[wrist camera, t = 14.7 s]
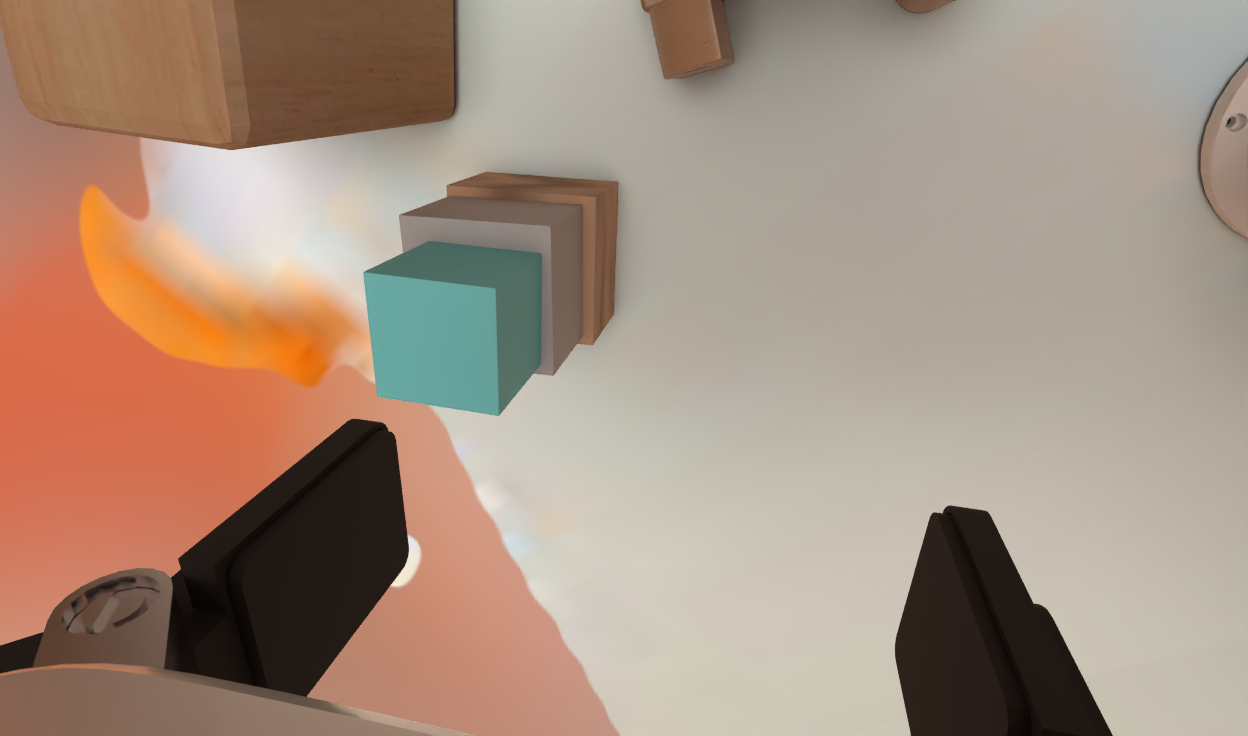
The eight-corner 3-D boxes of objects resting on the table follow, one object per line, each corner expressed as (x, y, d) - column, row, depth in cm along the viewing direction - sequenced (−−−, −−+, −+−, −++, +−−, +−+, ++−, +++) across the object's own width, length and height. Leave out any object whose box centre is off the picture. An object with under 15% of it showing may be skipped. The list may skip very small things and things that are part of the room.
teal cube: (541, 253, 33) (495, 288, 27) (541, 363, 35) (498, 415, 30) (429, 240, 34) (363, 272, 28) (436, 349, 36) (377, 396, 31)
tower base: (618, 181, 42) (596, 197, 37) (613, 313, 46) (592, 345, 41) (486, 171, 44) (446, 185, 39) (492, 300, 48) (456, 329, 42)
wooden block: (321, 104, 44) (13, 124, 26) (305, -72, 40) (-74, -190, 22) (460, 122, 43) (235, 155, 25) (459, -59, 39) (187, -174, 21)
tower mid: (582, 204, 37) (550, 226, 32) (582, 336, 41) (553, 375, 35) (451, 195, 39) (398, 215, 33) (461, 323, 42) (415, 359, 37)
